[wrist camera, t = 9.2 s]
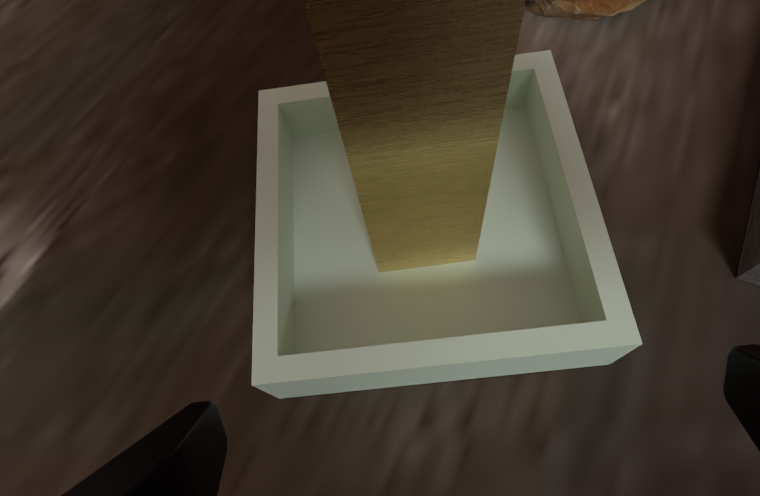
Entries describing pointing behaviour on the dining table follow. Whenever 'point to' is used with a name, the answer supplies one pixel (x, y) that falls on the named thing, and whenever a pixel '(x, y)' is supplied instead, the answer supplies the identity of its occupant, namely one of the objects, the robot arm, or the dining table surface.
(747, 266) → the bracket
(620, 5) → the bread roll
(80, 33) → the dining table surface
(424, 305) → the tray
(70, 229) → the dining table surface
